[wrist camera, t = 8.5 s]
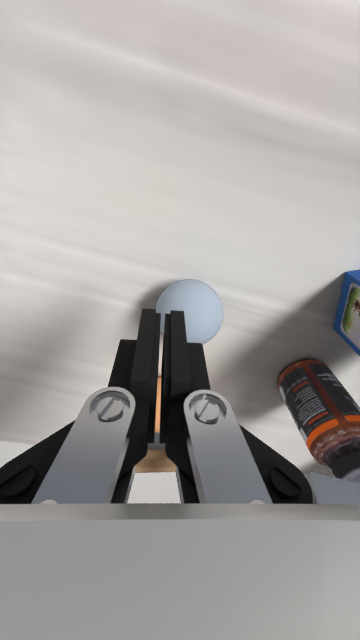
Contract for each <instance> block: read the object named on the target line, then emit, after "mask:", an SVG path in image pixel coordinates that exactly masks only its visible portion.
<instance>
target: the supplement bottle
mask: <svg viewBox="0 0 360 640" xmlns="http://www.w3.org/2000/svg"><path fill="white" fill-rule="evenodd" d="M278 388H279V391H280V393H281V395H282V397H283V399H284V401H285V403H286V405H287V407H288V409H289V411H290V413H291V415H292V417H293V419H294V421H295V423H296V425H297V427H298V429H299V431H300V433H301V435H302V437H303V439H304V441H305V443H306V445H307V447H308V449H309V451H310V453H311V455H312V456H313V457H314V459H315V460H316V461H318V462H319V463H320V464H322V465H325V466H328V467H330V468H331V469H332V472H333V474H334V475H335V477H336V478H340V479H344V480H348V481H352V482H356V483H360V407H359V406H358V405H357V403H356V402H355V401H354V400H353V398H352V397H351V396H350V395H349V393H348V392H347V391H346V389H345V388H344V387H343V385H342V384H341V383H340V382H339V380H338V379H337V378H336V377H335V375H334V374H333V373H332V371H331V370H330V369H329V368H328V367H327V366H326V364H324V363H323V362H321V361H318V360H313V359H308V360H302V361H299V362H296V363H294V364H292V365H290V366H289V367H287V368H286V369H285V370H284V371H283V372H282V373H281V375H280V377H279V379H278Z"/></svg>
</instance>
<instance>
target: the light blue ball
mask: <svg viewBox="0 0 360 640" xmlns="http://www.w3.org/2000/svg"><path fill="white" fill-rule="evenodd" d="M171 310H176V311H184V317H185V327H186V337H187V342H191V343H202V345H203V344H205V343H207V342H208V341H210V340H211V339H212V338H213V337H214V336H215V335H216V334H217V332H218V331H219V329H220V327H221V324H222V321H223V305H222V302H221V299H220V297H219V296H218V294H217V293H216V291H215V290H214V289H213V288H212V287H210V286H209V285H208V284H206V283H204V282H202V281H199V280H194V279H185V280H180V281H177V282H175V283H173V284H171V285H170V286H168V287H167V288H166V289H165V290H164V291H163V292H162V294H161V295H160V297H159V299H158V301H157V305H156V313H161V322H160V331H161V333H162V334H163V335H164V324H165V313H167V314H170V311H171Z"/></svg>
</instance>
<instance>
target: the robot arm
mask: <svg viewBox="0 0 360 640" xmlns="http://www.w3.org/2000/svg"><path fill="white" fill-rule="evenodd" d="M160 322H161V313H156V309H142V314H141V320H140V325H139V331H138V337H137V340H126V339H121V340H120V343H119V347H118V350H117V354H116V358H115V362H114V366H113V369H112V373H111V377H110V381H109V384H108V387H107V388H103V389H100V390H98V391H96V392H95V393H93V394H92V395H91V396H90V397H89V398H88V399H87V401H86V402H85V404H84V406H83V408H82V409H81V411H80V413H79V415H78V417H77V419H76V420H75V421H73V422H72V423H70V424H68V425H67V426H65V427H64V428H62V429H60V430H59V431H57V432H56V433H54V434H52V435H51V436H49V437H48V438H46V439H44V440H43V441H41V442H40V443H38V444H36V445H35V446H33V447H32V448H30V449H28V450H27V451H25V452H24V453H22V454H20V455H19V456H17V457H16V458H14V459H12V460H11V461H9V462H8V463H6V464H5V465H4V466H3V467H1V468H0V640H360V483H356V482H352V481H348V480H344V479H340V478H336V477H332V476H327V475H323V474H319V473H315V472H311V471H310V473H309V474H304V473H302V472H301V471H300V470H299V469H298V468H297V467H296V466H295V465H293V464H292V463H291V462H289V461H288V460H287V459H285V458H284V457H282V456H281V455H280V454H278V453H277V452H276V451H274V450H273V449H272V448H270V447H269V446H268V445H266V444H265V443H263V442H262V441H261V440H259V439H258V438H257V437H255V436H254V435H253V434H251V433H250V432H249V431H247V430H246V429H244V428H243V427H242V426H240V425H239V424H238V421H237V419H236V417H235V414H234V412H233V410H232V407H231V405H230V404H229V402H228V400H227V399H226V398H224V397H223V396H222V395H221V394H219V393H217V392H214V391H211V390H210V385H209V379H208V373H207V368H206V362H205V357H204V351H203V346H202V343H191V342H187V337H186V327H185V317H184V311H176V310H171V311H170V314H167V313H165V324H164V339H163V355H162V373H161V403H160V434H159V444H165V454H166V456H167V457H168V458H169V459H170V460H171V461H172V462H173V463H174V464H175V467H176V477H177V483H178V488H179V494H180V501H181V504H127V501H128V498H129V493H130V490H131V486H132V482H133V477H134V474H135V469H136V464H138V463H139V462H140V461H141V460H142V459H143V458H144V457H145V456H147V451H148V443H154V437H155V419H156V401H157V382H158V362H159V342H160Z"/></svg>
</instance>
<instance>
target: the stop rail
mask: <svg viewBox="0 0 360 640" xmlns="http://www.w3.org/2000/svg"><path fill="white" fill-rule="evenodd" d="M148 472H176V467H175V464H174V463H173V462H172V461H171V460H170V459H169V458H168V457H167V456H166V454H165V450H148V451H147V456H145V457H144V458H143V459H142V460H141V461H140V462H139V463H138V464H136V469H135V473H148Z"/></svg>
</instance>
